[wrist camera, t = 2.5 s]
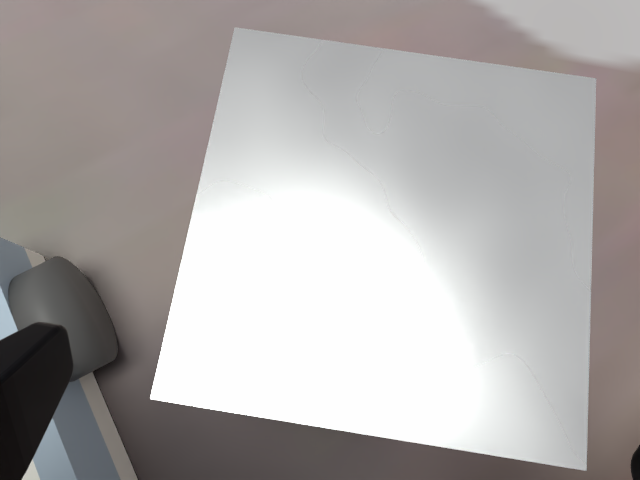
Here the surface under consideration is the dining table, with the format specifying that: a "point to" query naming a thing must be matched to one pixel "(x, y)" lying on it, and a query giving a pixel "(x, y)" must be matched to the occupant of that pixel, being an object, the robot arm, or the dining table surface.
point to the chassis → (88, 355)
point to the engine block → (391, 250)
